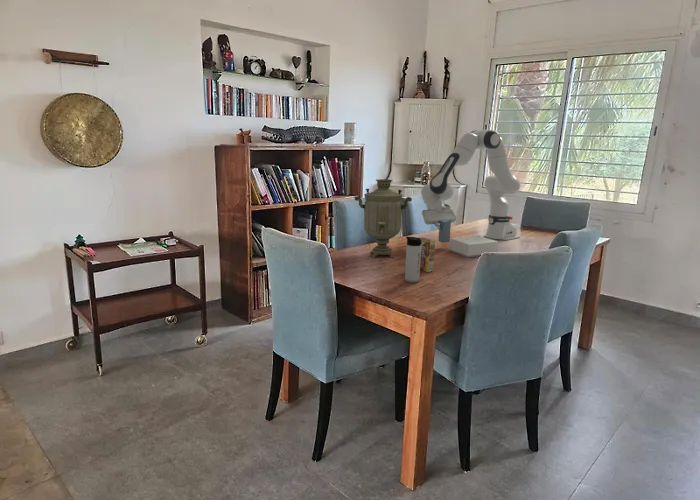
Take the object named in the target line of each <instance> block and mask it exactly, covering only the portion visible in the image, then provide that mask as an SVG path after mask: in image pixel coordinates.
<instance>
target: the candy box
mask: <svg viewBox="0 0 700 500" xmlns="http://www.w3.org/2000/svg"><path fill="white" fill-rule="evenodd" d="M417 238H420V239H421V258H420V271H421V272H422V271H423V272H425V273H430V272H431V271H432V272H434V266H435V265H434V264H435V263H434V262H435V249H436V240H435V239H431V238H428V237H423V236H419V237H417Z"/></svg>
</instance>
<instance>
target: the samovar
mask: <svg viewBox="0 0 700 500" xmlns="http://www.w3.org/2000/svg"><path fill="white" fill-rule="evenodd" d="M375 181H376V183H377V184H376V186H377V188H376V189H374V191H371V192H370V188H366V189H365V191H366V193H364V194H363V195H364V198H365V199H364V200H365V201H364V204H363V200H362V198H361V196H354V200H355V202H356V201H357V202H358V206H359V207H360V208H361V209H363V213H364V216H363V217H364V219H363V221H364V222H363V224H364V225H363V227H364V231H365V232H366V234H367V235H368V236H370V237H371V238H373V239H375V244H377V245H376V246H375V247H373V248H372V249H371V253H372V254H373V255H371V258H372V257H373V259H375V258H376V257H377V256H378V255H385V256H386V255H388V256H389V257H390V258H391V259H394V255H393V254H392V253H393V251H392V250H393V249H392V248H390V247H391V246H388V244H389V243H390V239H393V238H395V237H396V236H397V235H398V234H399V233H400V231H401V229H402V212H403V210H405V209H406V208H407V207H408V205H409V204H408V202H412V200H413V199H412V197H409V196H408V197H406V198H405V199H404V203H403V204H402V199H403V193H402V192H403V190H402V189H397V191H398V192H396V191H394V190H392V189H390V187H391V184H392V182H394V181H393V179H385V178H383V179H380V178H379V179H375Z"/></svg>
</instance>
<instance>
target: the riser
mask: <svg viewBox="0 0 700 500" xmlns="http://www.w3.org/2000/svg"><path fill="white" fill-rule="evenodd" d="M449 243H450V244H449V248H448V251H450V252H452V253H455V254H458V255H460V256H463V257H464V258H465V257H466V258H468V259H469V258H474V257H475V258H477V257H481V256H480V255H481V254H482V253H484V252H497V253H498V247H499V241H497V240H496V239H492V238H488V237H485V236H481V235H472V236H470V235H469V236H461V237H450V242H449Z"/></svg>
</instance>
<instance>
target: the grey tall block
mask: <svg viewBox="0 0 700 500" xmlns="http://www.w3.org/2000/svg"><path fill="white" fill-rule="evenodd" d="M439 225H440V226H441V227H442V229H441V230H438V242H440V243H443V244H444V243H450V238H451V226H452V223H451V221H448V220H440V224H439Z"/></svg>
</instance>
